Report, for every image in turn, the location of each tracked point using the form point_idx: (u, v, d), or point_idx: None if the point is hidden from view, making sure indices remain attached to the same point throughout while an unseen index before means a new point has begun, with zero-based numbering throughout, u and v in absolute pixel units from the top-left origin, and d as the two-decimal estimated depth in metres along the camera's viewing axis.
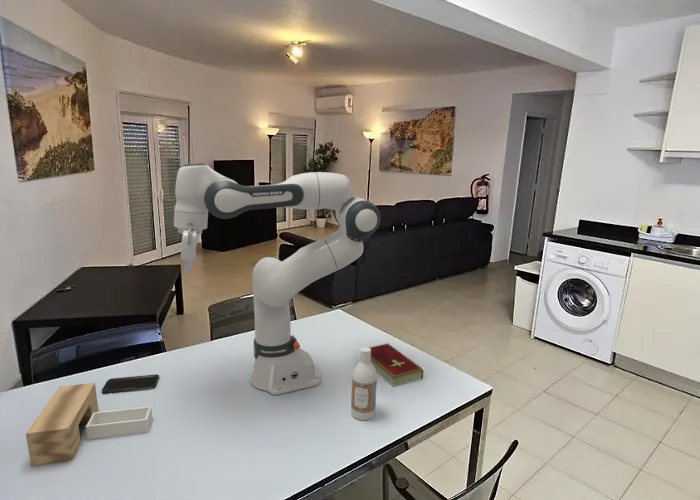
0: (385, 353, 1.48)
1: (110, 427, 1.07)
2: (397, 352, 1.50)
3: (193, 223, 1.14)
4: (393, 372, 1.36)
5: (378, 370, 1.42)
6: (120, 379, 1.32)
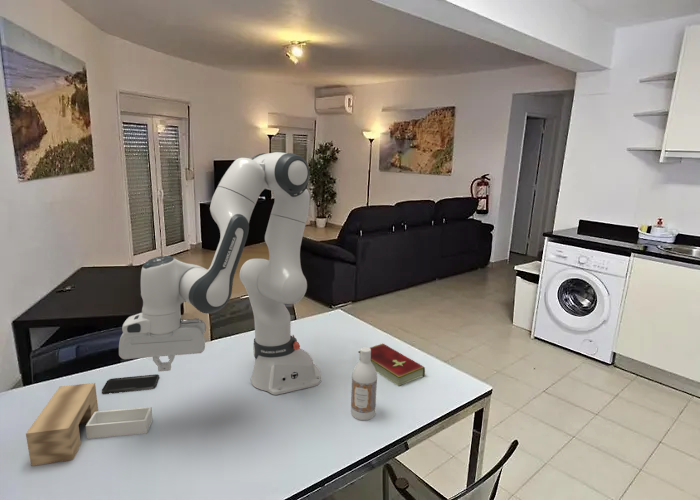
0: (384, 354, 1.48)
1: (109, 427, 1.07)
2: (395, 352, 1.50)
3: (180, 317, 1.09)
4: (397, 372, 1.36)
5: (380, 371, 1.42)
6: (120, 379, 1.32)
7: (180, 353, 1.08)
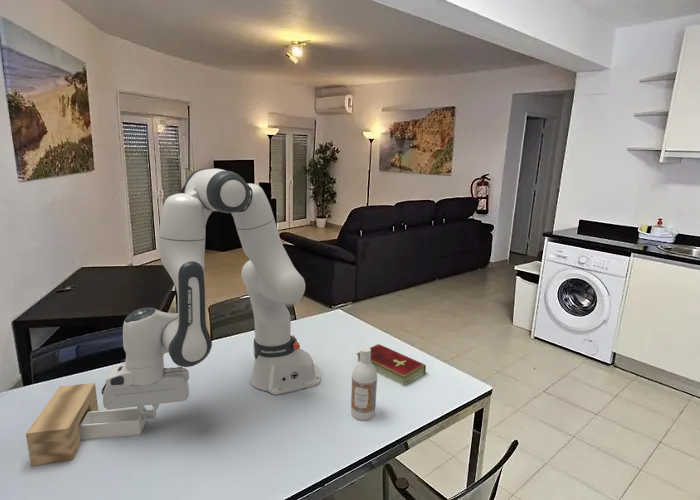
0: (383, 354, 1.48)
1: (102, 427, 1.06)
2: (392, 351, 1.50)
3: None
4: (401, 371, 1.37)
5: (382, 372, 1.41)
6: None
7: (164, 402, 1.10)
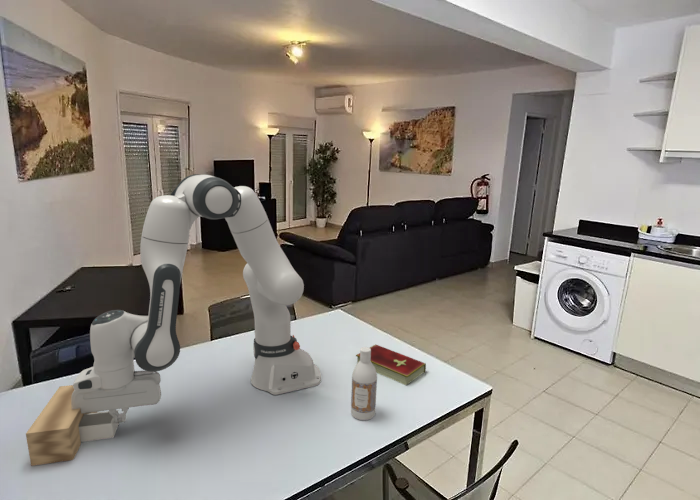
0: (382, 355, 1.47)
1: None
2: (391, 351, 1.50)
3: (134, 369, 1.09)
4: (403, 371, 1.37)
5: (383, 372, 1.41)
6: None
7: (135, 405, 1.08)
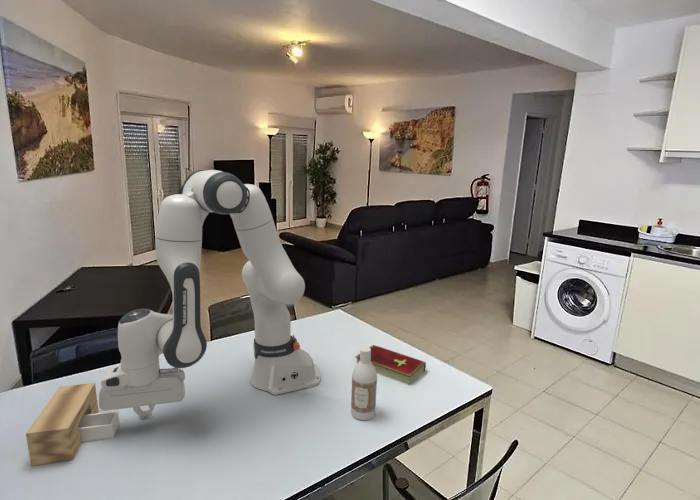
0: (381, 355, 1.47)
1: None
2: (390, 351, 1.50)
3: (159, 367, 1.10)
4: (405, 371, 1.37)
5: (384, 373, 1.40)
6: None
7: (160, 402, 1.10)
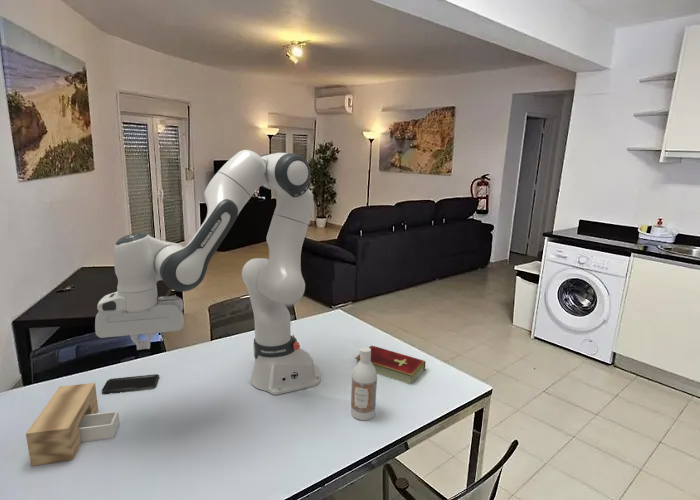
0: (381, 355, 1.47)
1: None
2: (389, 351, 1.50)
3: None
4: (406, 371, 1.37)
5: (385, 373, 1.40)
6: (120, 379, 1.32)
7: (158, 331, 1.07)
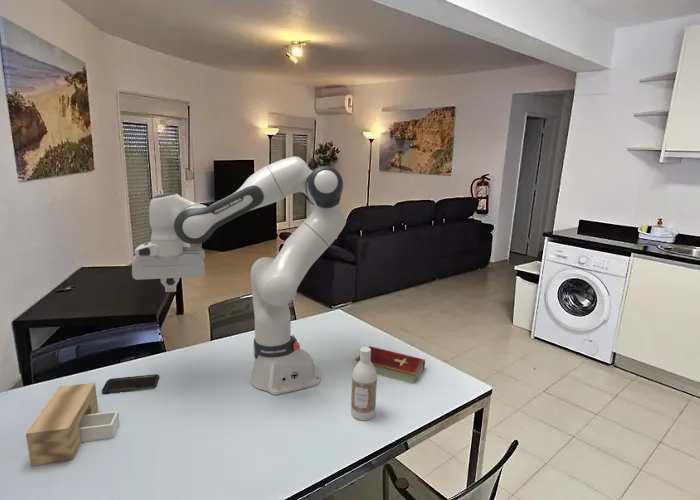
0: (380, 356, 1.47)
1: None
2: (387, 351, 1.50)
3: (183, 246, 1.28)
4: (408, 370, 1.38)
5: (387, 374, 1.40)
6: (120, 379, 1.32)
7: (184, 276, 1.27)
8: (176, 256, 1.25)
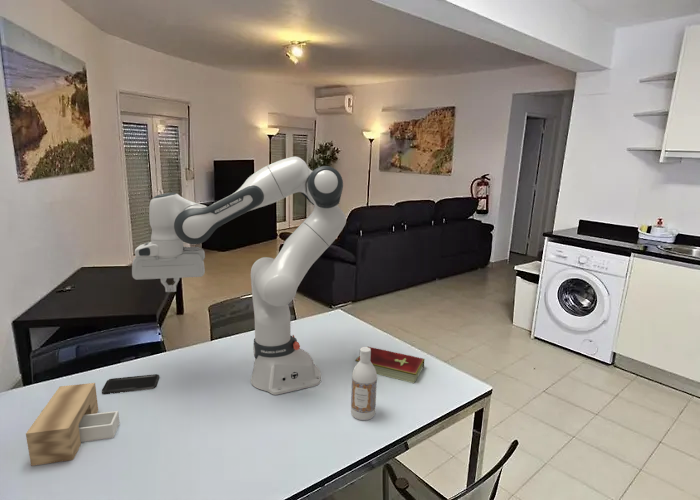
0: (380, 356, 1.46)
1: None
2: (387, 351, 1.50)
3: (183, 246, 1.28)
4: (409, 370, 1.38)
5: (388, 374, 1.40)
6: (120, 379, 1.32)
7: (184, 276, 1.27)
8: (176, 256, 1.25)
